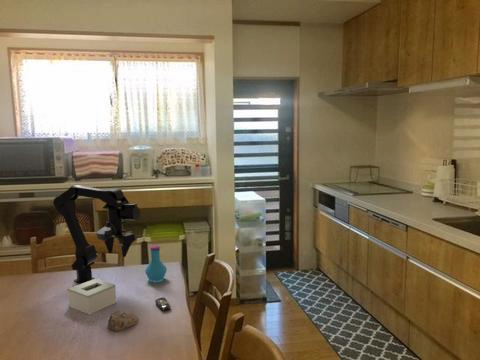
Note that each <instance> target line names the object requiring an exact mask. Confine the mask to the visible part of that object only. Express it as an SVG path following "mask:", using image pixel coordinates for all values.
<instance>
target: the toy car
mask: <svg viewBox="0 0 480 360" xmlns="http://www.w3.org/2000/svg"><path fill="white" fill-rule="evenodd" d="M153 283H154V284H156V282H155V281H154V282H153ZM155 286H156V288H158V287H157V285H155ZM157 294H158V296H159V293H157ZM169 302H170V301H169V300H168V299H167V298H165V297H164V296H163V297H158V298H157V299H155V306H156V307H158V308H159V309H160V312H167V311H169V310H171V308H172V305H170V303H169Z"/></svg>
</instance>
